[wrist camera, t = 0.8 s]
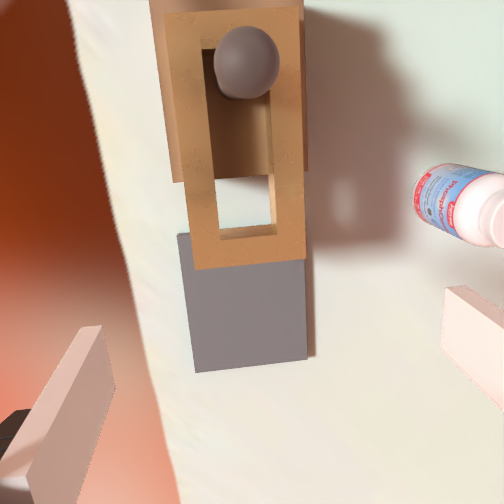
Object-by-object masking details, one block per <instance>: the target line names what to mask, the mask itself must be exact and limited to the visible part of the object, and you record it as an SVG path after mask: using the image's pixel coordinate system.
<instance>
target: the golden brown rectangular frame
mask: <svg viewBox="0 0 504 504" xmlns="http://www.w3.org/2000/svg"><path fill="white" fill-rule="evenodd" d="M163 19H164V27H165V35H166V43H167V51H168V59H169V67H170V75H171V83H172V91H173V99H174V107H175V115H176V123H177V131H178V139H179V147H180V155H181V163H182V171H183V179H184V187H185V195H186V203H187V211H188V219H189V228H190V236H191V244H192V252H193V260H194V268H195V270H201V269H211V268H221V267H231V266H240V265H250V264H260V263H270V262H279V261H289V260H299V259H306V233H305V201H304V168H303V135H302V102H301V70H300V37H299V6H287V7H269V8H251V9H233V10H215V11H198V12H180V13H163ZM240 26H252V27H256V28H259V29H261V30H263V31H264V32H266V33H267V34H268V35H269V36H270V37H271V38H272V39H273V41H274V42H275V44H276V46H277V49H278V52H279V57H280V68H279V73H278V76H277V79H276V81H275V83H274V84H273V85H272V87H271V88H270V89H269V90H268V91H267V92H266V93H264V109H265V127H266V144H267V161H268V178H269V195H270V213H271V224H268V225H258V226H247V227H237V228H226V229H219V221H218V211H217V201H216V191H215V181H214V171H213V161H212V152H211V142H210V132H209V122H208V112H207V102H206V92H205V82H204V72H203V62H202V56H214V55H215V51H216V48H217V45H218V43H219V42H220V40H221V39H222V38H223V36H224V35H225V34H227V33H228V32H229V31H231V30H232V29H234V28H237V27H240Z"/></svg>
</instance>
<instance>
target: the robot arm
mask: <svg viewBox="0 0 504 504" xmlns="http://www.w3.org/2000/svg"><path fill="white" fill-rule="evenodd" d="M441 350H442V351H443V352H444V353H445V354H446V355H447V356H448V357H449V358H450V359H451V360H452V361H453V362H454V363H455V364H456V365H457V366H458V367H459V368H460V369H461V370H462V371H463V372H464V373H465V374H466V375H467V376H468V377H469V378H470V379H471V380H472V381H473V382H474V383H475V384H476V385H477V386H478V387H479V388H480V389H481V390H482V391H483V392H484V393H485V394H486V395H487V396H488V397H489V398H490V399H491V400H492V401H493V402H494V403H495V404H496V405H497V406H498V407H499V408H500V409H501V410H502V411H503V412H504V311H502V310H501V309H499V308H498V307H496V306H495V305H493V304H492V303H490V302H489V301H487V300H486V299H484V298H483V297H481V296H480V295H478V294H477V293H475V292H474V291H472V290H470V289H469V288H467V287H466V286H458V287H448V288H446V293H445V304H444V315H443V326H442V337H441ZM115 389H116V388H115V383H114V379H113V374H112V369H111V364H110V360H109V355H108V350H107V345H106V341H105V336H104V331H103V326H102V325H101V326H91V327H82V328H80V330H79V332H78V334H77V335H76V337H75V338H74V340H73V342H72V343H71V345H70V346H69V348H68V350H67V352H66V353H65V355H64V356H63V358H62V360H61V361H60V363H59V365H58V367H57V368H56V369H55V371H54V373H53V374H52V376H51V378H50V380H49V381H48V383H47V384H46V386H45V388H44V389H43V391H42V393H41V394H40V396H39V398H38V399H37V401H36V403H35V404H34V406H33V407H32V409H25V410H17V411H15V412H13V413H12V414H11V415H10V416H9V417H8V418H6V419H5V420H4V421H3V422H2V423H1V424H0V504H76V502H77V500H78V497H79V494H80V491H81V488H82V485H83V482H84V479H85V476H86V473H87V471H88V468H89V465H90V462H91V459H92V456H93V453H94V450H95V447H96V444H97V441H98V438H99V436H100V433H101V430H102V427H103V424H104V421H105V418H106V415H107V412H108V409H109V406H110V403H111V400H112V398H113V394H114V392H115Z"/></svg>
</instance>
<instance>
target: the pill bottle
mask: <svg viewBox="0 0 504 504" xmlns="http://www.w3.org/2000/svg"><path fill="white" fill-rule="evenodd" d="M412 205H413V209H414V211H415V213H416V214H417V215H418V217H419V218H421V219H422V220H423V221H425V222H427V223H429V224H431V225H433V226H435V227H437V228H439V229H441V230H443V231H445V232H447V233H449V234H451V235H453V236H455V237H458V238H460V239H462V240H464V241H466V242H468V243H470V244H473V245H475V246H479V247H493V246H497V247H500V248H502V249H504V174H500V173H495V172H490V171H485V170H480V169H476V168H471V167H466V166H461V165H457V164H449V163H447V164H440V165H437V166H434V167H432V168H430V169H428V170H427V171H426V172H424V173H423V174H422V175H421V176H420V177H419V179H418V180H417V182H416V183H415V186H414V188H413V192H412Z"/></svg>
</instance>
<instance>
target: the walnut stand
mask: <svg viewBox="0 0 504 504" xmlns="http://www.w3.org/2000/svg"><path fill="white" fill-rule="evenodd" d="M149 5H150V13H151V20H152V28H153V36H154V43H155V51H156V58H157V66H158V73H159V81H160V88H161V96H162V103H163V111H164V118H165V126H166V133H167V141H168V148H169V156H170V163H171V171H172V178H173V183H177V182H184V179H183V171H182V163H181V155H180V147H179V139H178V131H177V123H176V115H175V107H174V99H173V91H172V83H171V75H170V67H169V59H168V51H167V43H166V35H165V27H164V19H163V13H180V12H198V11H215V10H233V9H251V8H269V7H287V6H299V37H300V70H301V102H302V135H303V168H304V171H308V149H307V112H306V75H305V38H304V1H303V0H149ZM202 62H203V72H204V82H205V92H206V102H207V112H208V122H209V132H210V142H211V152H212V161H213V171H214V179H223V178H234V177H246V176H257V175H268V161H267V144H266V127H265V109H264V93H266V92H267V91H268V90H269V89H270V88H271V87H272V85H273V84H274V83H275V81H276V79H277V76H278V73H279V68H280V57H279V52H278V49H277V46H276V44H275V42H274V41H273V39H272V38H271V37H270V36H269V35H268V34H267V33H266V32H264V31H263V30H261V29H259V28H256V27H252V26H240V27H237V28H234V29H232V30H231V31H229V32H228V33H227V34H225V35H224V36H223V38H222V39H221V40H220V42H219V43H218V45H217V48H216V51H215V55H214V56H202Z"/></svg>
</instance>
